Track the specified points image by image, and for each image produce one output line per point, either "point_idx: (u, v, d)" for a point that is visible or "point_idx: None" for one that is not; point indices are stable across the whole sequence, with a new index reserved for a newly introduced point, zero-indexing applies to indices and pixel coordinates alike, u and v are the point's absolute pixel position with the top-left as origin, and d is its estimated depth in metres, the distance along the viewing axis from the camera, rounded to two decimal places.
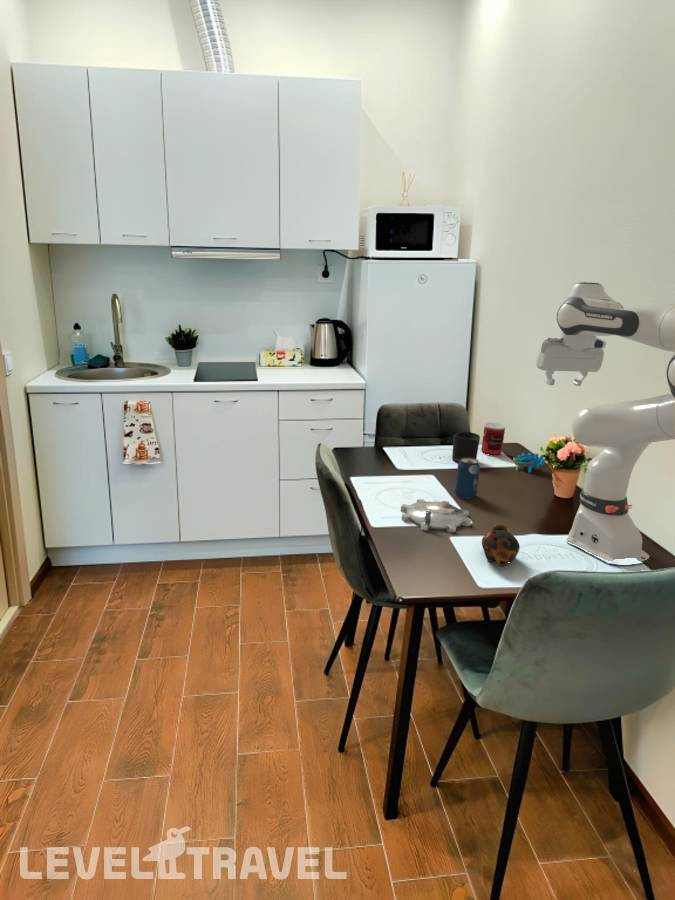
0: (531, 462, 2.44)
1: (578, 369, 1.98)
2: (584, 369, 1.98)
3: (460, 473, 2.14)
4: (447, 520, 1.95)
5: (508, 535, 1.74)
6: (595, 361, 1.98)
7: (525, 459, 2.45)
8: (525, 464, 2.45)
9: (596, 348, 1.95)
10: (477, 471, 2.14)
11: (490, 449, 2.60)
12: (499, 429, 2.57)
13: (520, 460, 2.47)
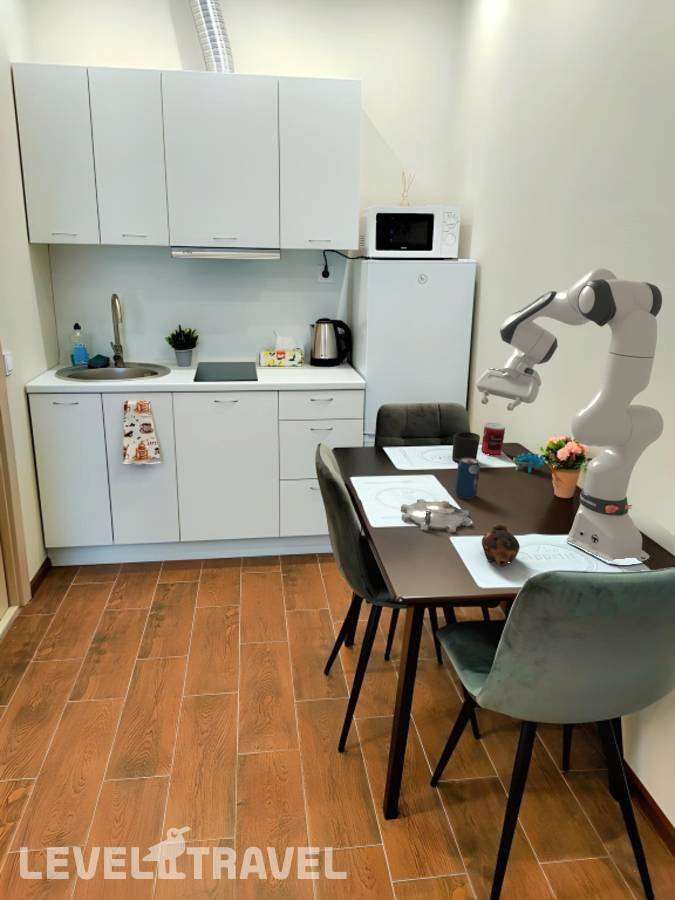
0: (531, 462, 2.44)
1: (508, 391, 2.18)
2: (514, 392, 2.17)
3: (460, 473, 2.14)
4: (447, 520, 1.95)
5: (508, 535, 1.74)
6: (527, 388, 2.15)
7: (525, 459, 2.45)
8: (525, 464, 2.45)
9: (526, 374, 2.17)
10: (477, 471, 2.14)
11: (490, 449, 2.60)
12: (499, 429, 2.57)
13: (520, 460, 2.46)
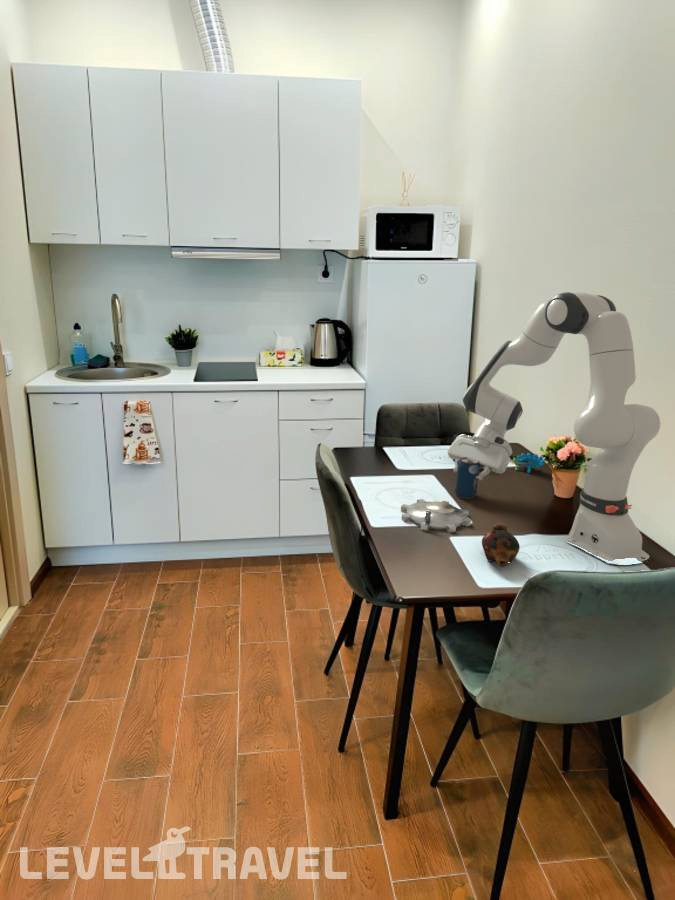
0: (530, 462, 2.44)
1: (479, 460, 2.15)
2: (485, 462, 2.14)
3: (460, 473, 2.14)
4: (447, 520, 1.95)
5: (508, 535, 1.74)
6: (497, 458, 2.13)
7: (524, 459, 2.45)
8: (524, 464, 2.45)
9: (497, 444, 2.14)
10: (477, 471, 2.14)
11: None
12: None
13: (520, 460, 2.46)
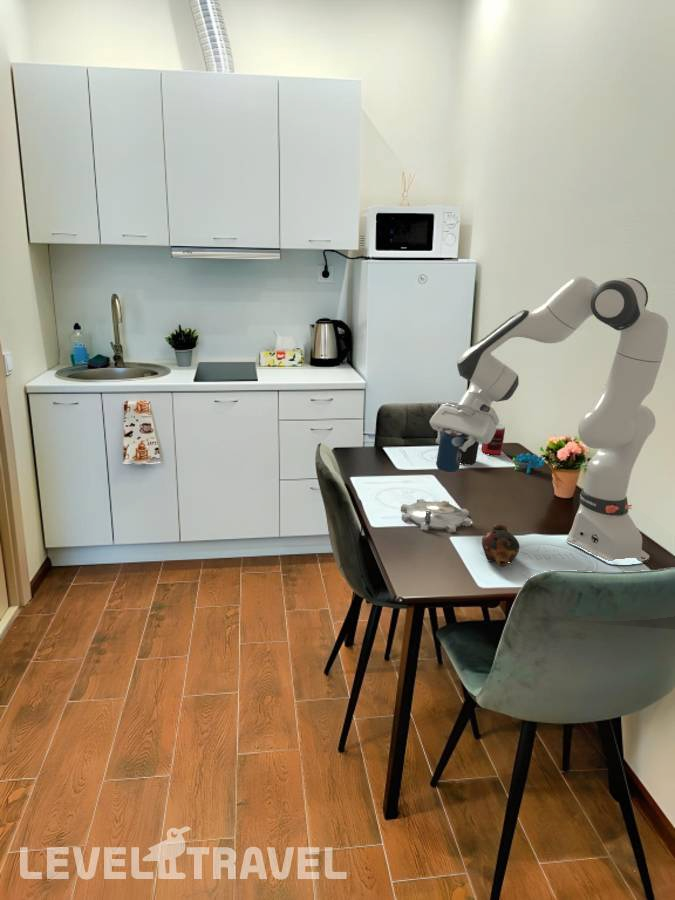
0: (530, 463, 2.44)
1: (463, 430, 1.99)
2: (469, 432, 1.97)
3: (442, 445, 1.98)
4: (447, 520, 1.95)
5: (508, 535, 1.74)
6: (483, 427, 1.96)
7: (524, 459, 2.45)
8: (524, 464, 2.45)
9: (482, 412, 1.97)
10: None
11: (490, 449, 2.60)
12: (499, 429, 2.57)
13: (519, 460, 2.46)
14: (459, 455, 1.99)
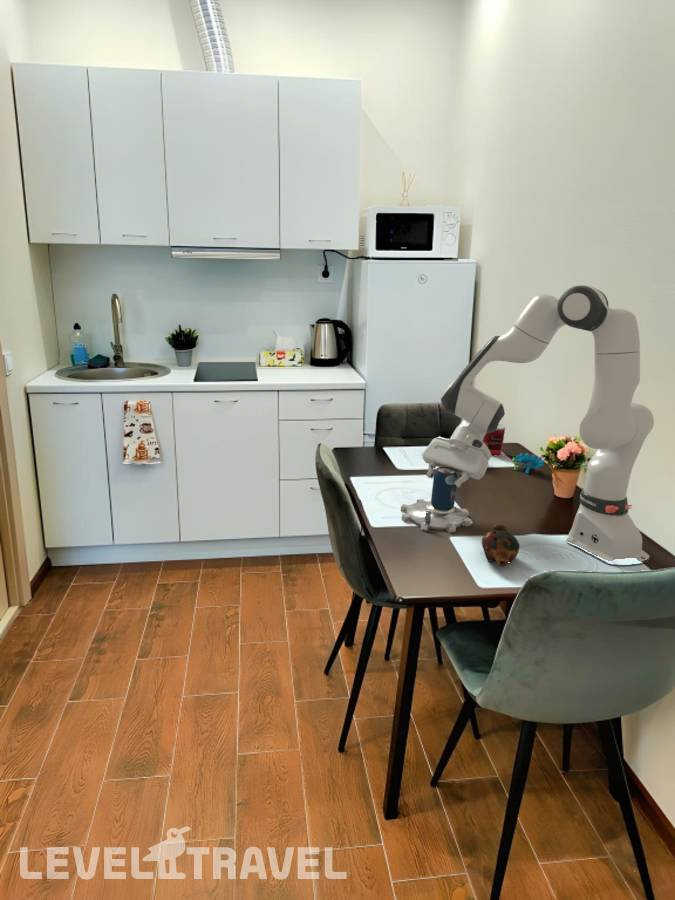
0: (529, 463, 2.43)
1: (455, 465, 2.00)
2: (461, 467, 1.98)
3: (436, 483, 1.99)
4: (447, 520, 1.95)
5: (508, 535, 1.74)
6: (475, 463, 1.97)
7: (523, 460, 2.44)
8: (523, 465, 2.45)
9: (474, 447, 1.98)
10: None
11: (490, 449, 2.60)
12: (499, 429, 2.57)
13: (519, 460, 2.46)
14: (453, 493, 2.00)
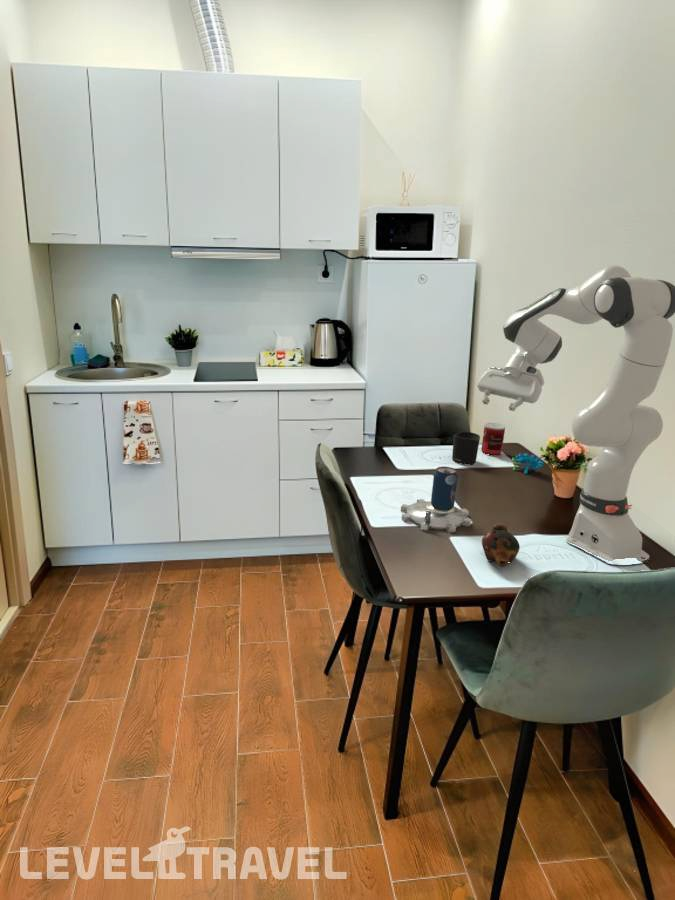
0: (528, 463, 2.43)
1: (510, 390, 2.11)
2: (516, 392, 2.10)
3: (436, 483, 1.99)
4: (447, 520, 1.95)
5: (508, 535, 1.74)
6: (530, 387, 2.08)
7: (523, 460, 2.44)
8: (523, 465, 2.44)
9: (529, 373, 2.10)
10: (454, 482, 1.98)
11: (490, 449, 2.60)
12: (499, 429, 2.57)
13: (518, 461, 2.46)
14: (453, 493, 2.00)
